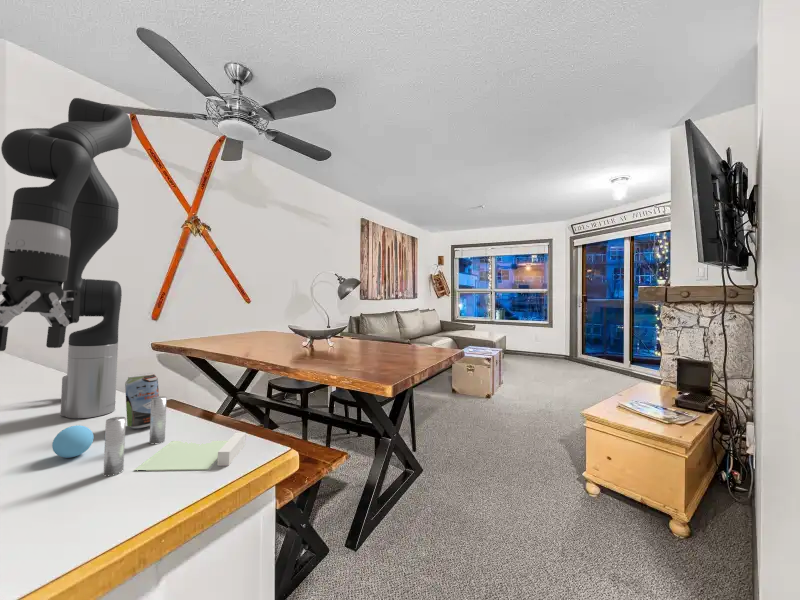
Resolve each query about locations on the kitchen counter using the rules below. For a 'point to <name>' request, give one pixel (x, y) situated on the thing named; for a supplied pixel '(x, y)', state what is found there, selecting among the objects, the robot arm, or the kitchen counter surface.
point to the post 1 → (114, 445)
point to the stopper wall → (231, 449)
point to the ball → (72, 441)
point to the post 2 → (158, 419)
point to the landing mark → (183, 457)
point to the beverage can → (140, 399)
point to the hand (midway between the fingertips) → (26, 349)
